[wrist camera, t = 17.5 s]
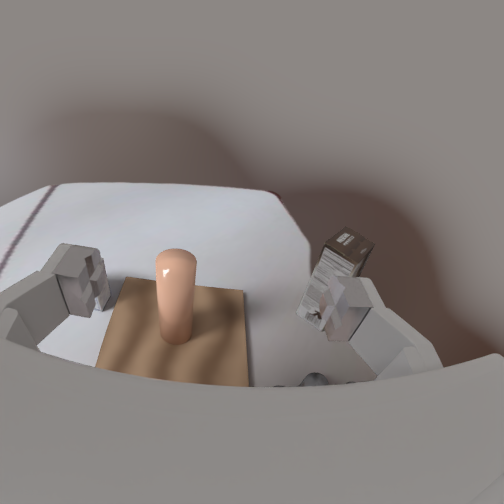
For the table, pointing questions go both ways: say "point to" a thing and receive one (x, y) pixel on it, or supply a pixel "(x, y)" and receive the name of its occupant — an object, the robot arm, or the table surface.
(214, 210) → the table surface
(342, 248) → the coffee box
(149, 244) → the table surface
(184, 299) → the peach rounded cylinder
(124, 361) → the walnut board
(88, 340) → the table surface
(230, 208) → the table surface
